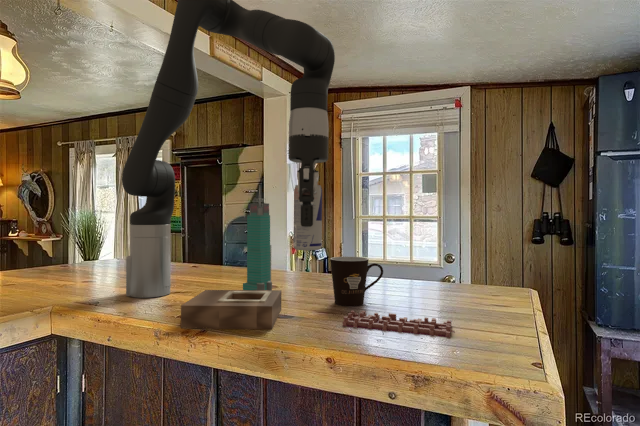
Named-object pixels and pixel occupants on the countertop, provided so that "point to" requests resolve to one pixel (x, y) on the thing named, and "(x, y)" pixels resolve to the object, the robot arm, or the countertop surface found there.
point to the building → (258, 247)
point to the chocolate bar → (398, 324)
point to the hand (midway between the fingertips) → (307, 225)
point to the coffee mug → (351, 279)
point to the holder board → (232, 309)
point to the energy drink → (308, 235)
